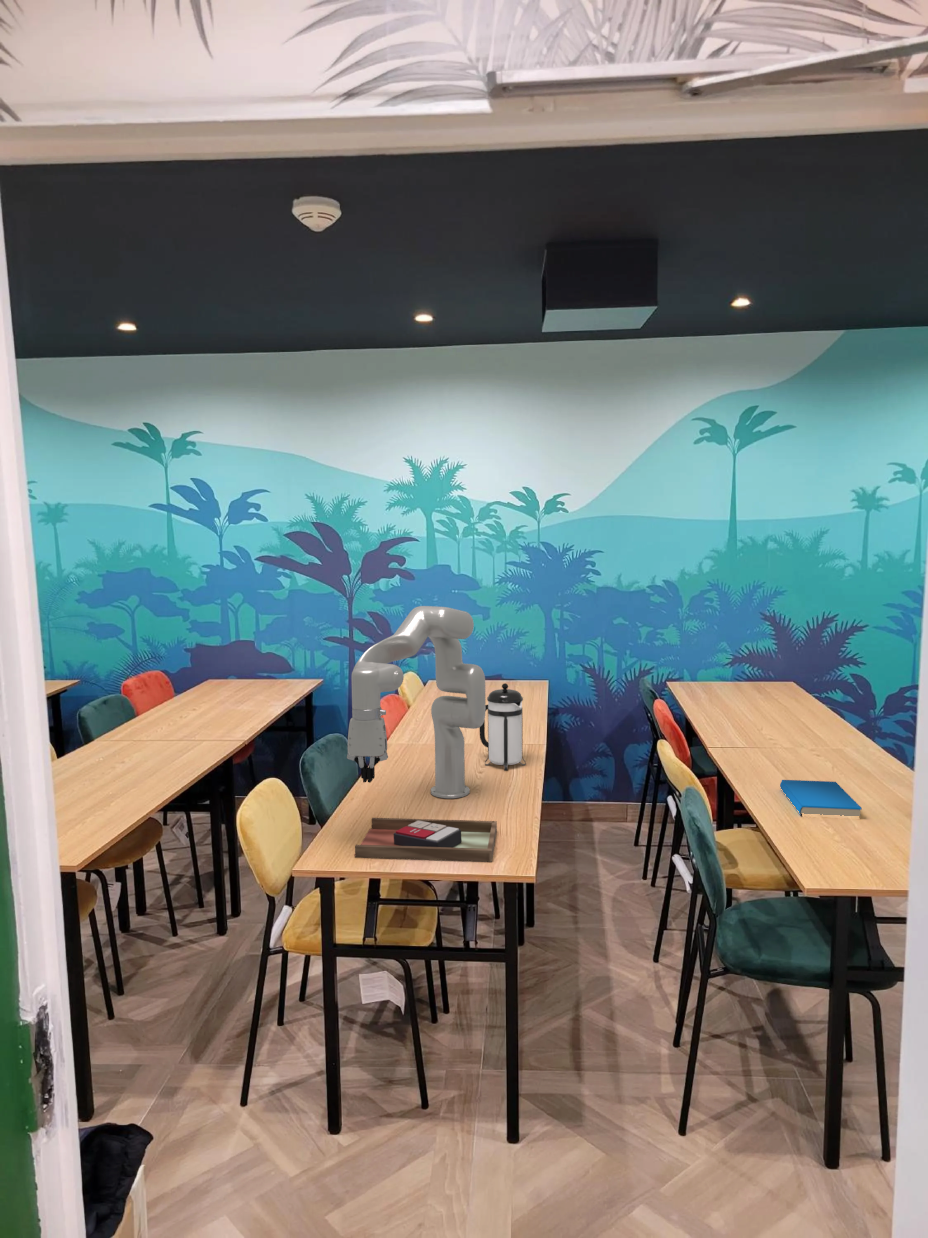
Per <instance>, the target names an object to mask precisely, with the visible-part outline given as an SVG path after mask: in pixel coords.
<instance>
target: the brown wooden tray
mask: <svg viewBox="0 0 928 1238" xmlns="http://www.w3.org/2000/svg"><path fill="white" fill-rule="evenodd" d="M370 819H371V822H370V823H371V828H369V829H368V831H367V833H366V834H365V836H364V838H363V839H362V841H361V843H360V844H355V845H354V854H353V856H354V858H355V859H356V858H357V859H358V858H360V859H362V858H364V859H390V860H393V859H394V860H415V861H416V860H419V861H420V860H421V861H447V862H448V861H453V862H455V861H456V862H476V863H477V862H482V863H483V862H484V863H492V862H493V857H494V851H495V844H496V839H497V833H498V826H497V824H498V823H497V822H498V821H497V820H471V819H470V820H467V819H463V820H462V819H437V818H436V819H430V818H399V817H398V818H397V817H371V818H370ZM416 821H424V822H429V823H431V824H432V823H435V824H440V825H446V827H453V828H458V829H460V830H461V839H462V842H461V843H460V844H458V845H456V846H454V847H453V848H451V847H419V846H400V845H395V844H394V833H396V831H397V830H399V829H401V828H403V827H406V826H408V825H410V824H412V823H414V822H416Z"/></svg>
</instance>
